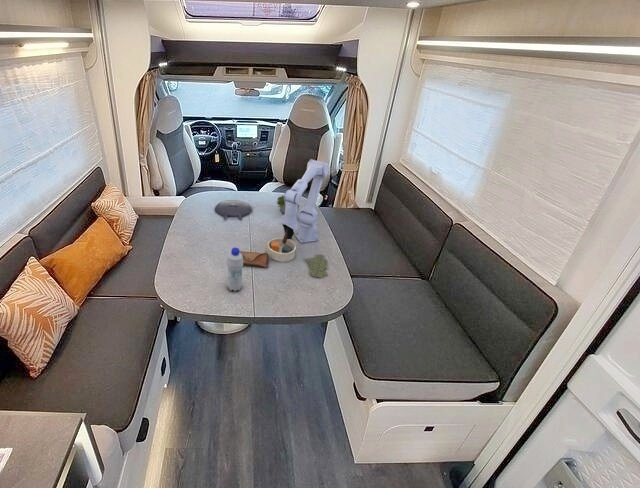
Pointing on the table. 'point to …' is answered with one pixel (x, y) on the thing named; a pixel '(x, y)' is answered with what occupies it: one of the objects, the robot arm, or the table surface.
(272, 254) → the bowl
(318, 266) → the map
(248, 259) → the sunglasses case
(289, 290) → the table surface
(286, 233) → the stick
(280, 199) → the potted plant
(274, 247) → the orange block
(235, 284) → the bottle
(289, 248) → the slate block
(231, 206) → the toy spaceship
